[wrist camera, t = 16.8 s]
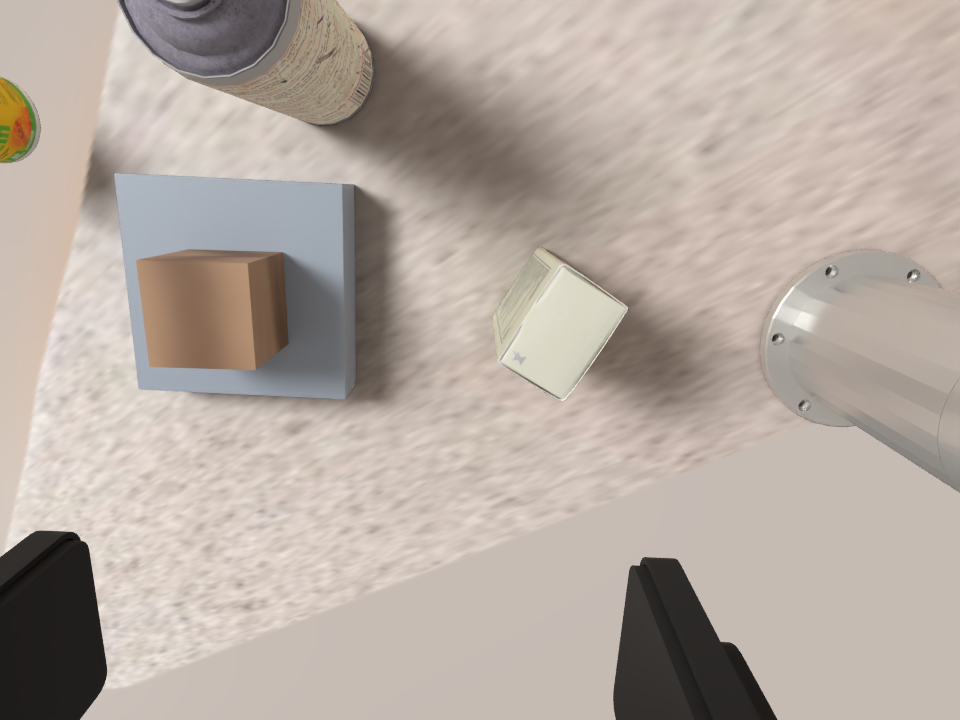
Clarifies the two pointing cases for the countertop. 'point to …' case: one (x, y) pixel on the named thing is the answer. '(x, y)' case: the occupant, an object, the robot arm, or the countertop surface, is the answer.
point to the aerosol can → (263, 51)
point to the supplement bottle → (17, 123)
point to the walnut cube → (213, 308)
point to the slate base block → (253, 227)
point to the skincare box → (554, 324)
